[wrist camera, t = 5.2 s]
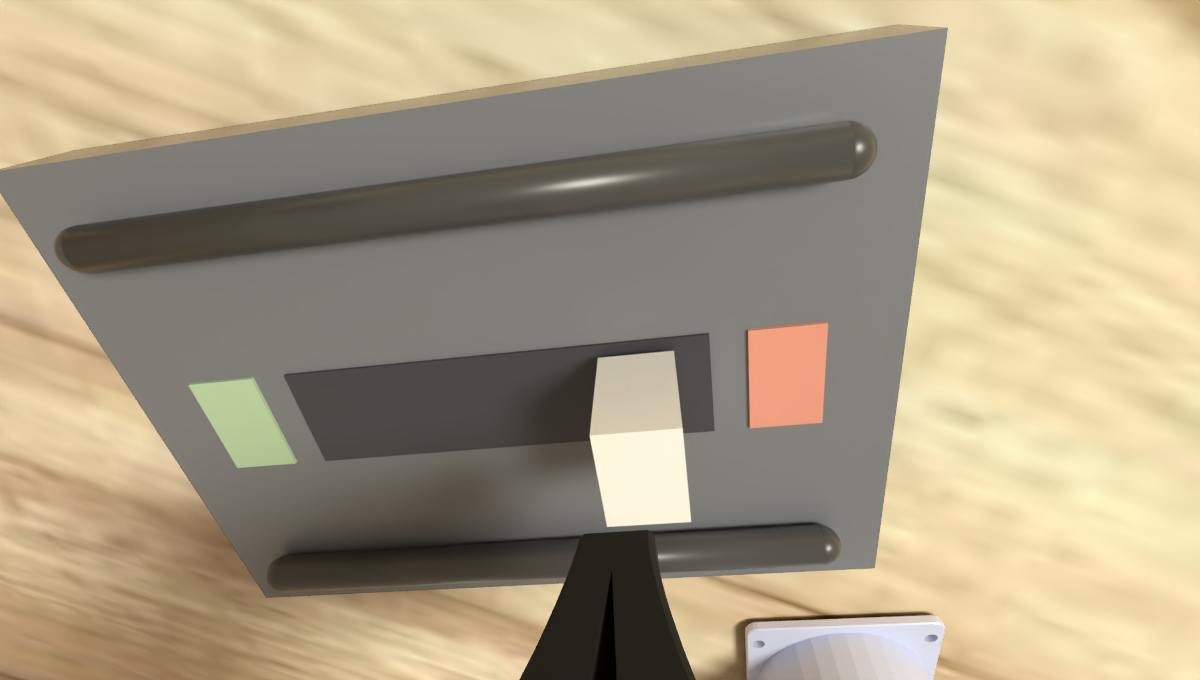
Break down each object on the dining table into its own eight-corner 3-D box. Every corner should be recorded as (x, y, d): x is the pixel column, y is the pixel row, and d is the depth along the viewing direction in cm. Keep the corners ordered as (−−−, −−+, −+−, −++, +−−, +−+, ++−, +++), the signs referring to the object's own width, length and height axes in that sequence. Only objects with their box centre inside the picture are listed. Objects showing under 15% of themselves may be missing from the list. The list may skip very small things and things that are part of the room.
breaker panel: (850, 511, 21) (888, 600, 18) (299, 544, 24) (248, 626, 21) (898, 24, 14) (979, 29, 10) (73, 150, 16) (-65, 185, 13)
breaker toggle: (681, 434, 16) (691, 521, 14) (611, 440, 17) (607, 527, 14) (674, 350, 15) (682, 428, 12) (597, 357, 15) (589, 435, 12)
